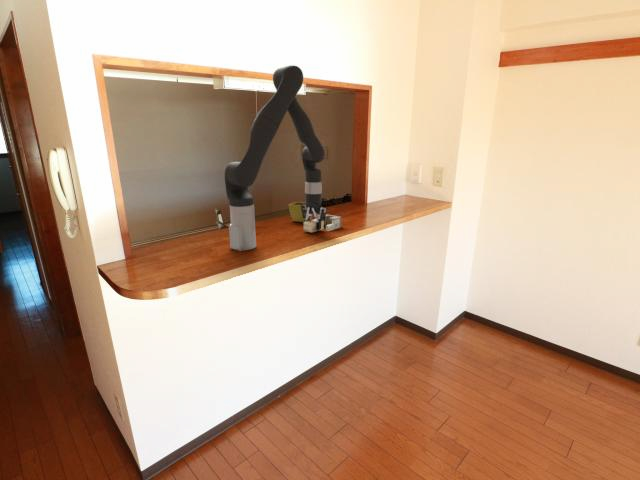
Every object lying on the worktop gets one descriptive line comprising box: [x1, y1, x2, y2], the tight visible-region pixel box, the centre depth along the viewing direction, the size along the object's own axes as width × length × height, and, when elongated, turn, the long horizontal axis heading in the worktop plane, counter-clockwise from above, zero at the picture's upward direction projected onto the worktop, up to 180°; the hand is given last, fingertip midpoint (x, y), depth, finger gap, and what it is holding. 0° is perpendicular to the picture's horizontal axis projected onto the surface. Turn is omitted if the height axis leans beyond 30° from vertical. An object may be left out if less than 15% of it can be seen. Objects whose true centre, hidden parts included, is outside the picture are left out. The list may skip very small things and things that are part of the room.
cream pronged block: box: [303, 218, 325, 233], centre depth 167 cm, size 8×5×4 cm, turn 136°
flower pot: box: [288, 201, 306, 223], centre depth 187 cm, size 9×9×9 cm
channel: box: [324, 213, 343, 232], centre depth 175 cm, size 10×10×5 cm
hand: (313, 228), depth 168 cm, fingers closed on cream pronged block, 5 cm apart
